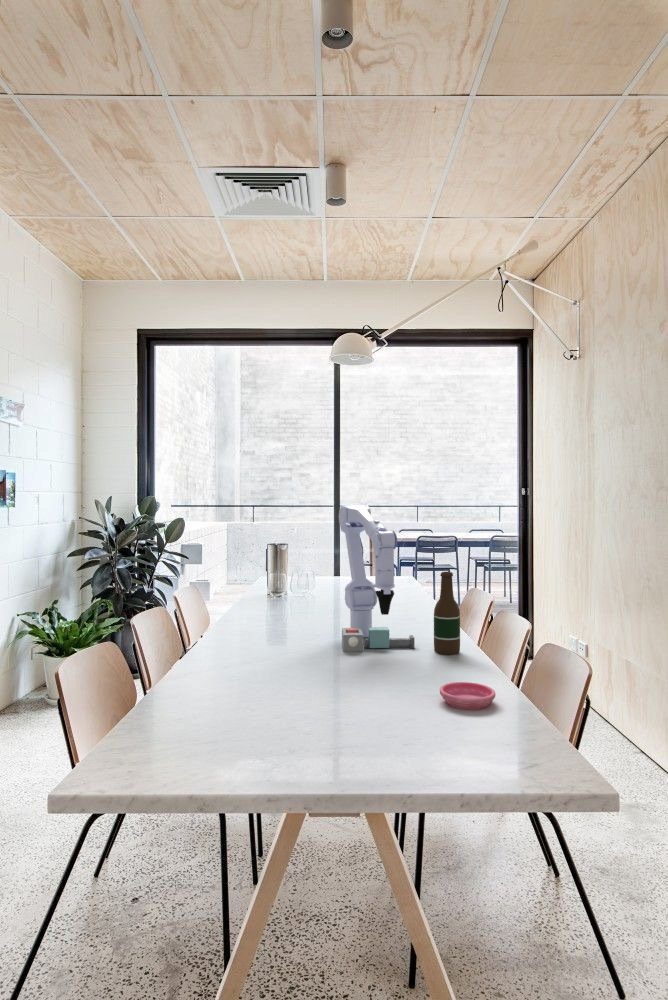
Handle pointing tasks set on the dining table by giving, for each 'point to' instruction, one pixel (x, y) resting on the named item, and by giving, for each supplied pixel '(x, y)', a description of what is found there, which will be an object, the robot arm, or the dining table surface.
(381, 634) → the block
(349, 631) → the plunger
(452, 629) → the beer bottle
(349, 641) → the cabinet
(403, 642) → the rail
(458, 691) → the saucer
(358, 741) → the dining table surface
